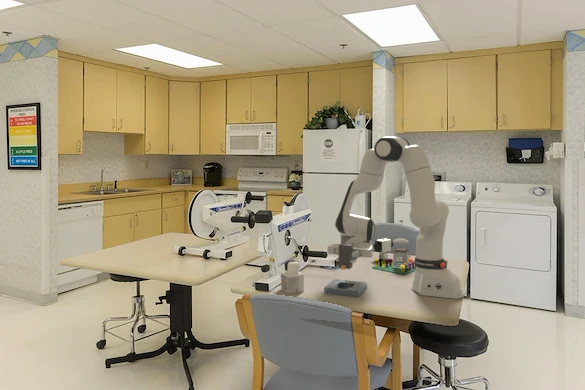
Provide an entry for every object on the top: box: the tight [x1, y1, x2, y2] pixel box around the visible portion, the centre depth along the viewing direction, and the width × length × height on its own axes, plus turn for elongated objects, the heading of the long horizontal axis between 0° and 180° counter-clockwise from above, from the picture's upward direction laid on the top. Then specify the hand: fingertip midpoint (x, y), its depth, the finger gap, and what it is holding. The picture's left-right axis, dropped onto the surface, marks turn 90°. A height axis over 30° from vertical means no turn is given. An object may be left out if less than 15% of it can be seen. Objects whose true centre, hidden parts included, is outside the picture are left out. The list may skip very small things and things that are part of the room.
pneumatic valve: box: [373, 237, 394, 260], centre depth 259 cm, size 6×12×12 cm, turn 128°
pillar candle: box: [340, 233, 356, 260], centre depth 264 cm, size 10×10×15 cm
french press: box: [392, 219, 414, 267], centre depth 240 cm, size 10×12×25 cm
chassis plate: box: [323, 278, 368, 298], centre depth 201 cm, size 14×15×2 cm
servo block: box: [335, 243, 356, 270], centre depth 199 cm, size 6×8×10 cm
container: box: [280, 259, 305, 294], centre depth 202 cm, size 8×8×13 cm
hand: (345, 254), depth 199 cm, fingers closed on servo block, 5 cm apart
